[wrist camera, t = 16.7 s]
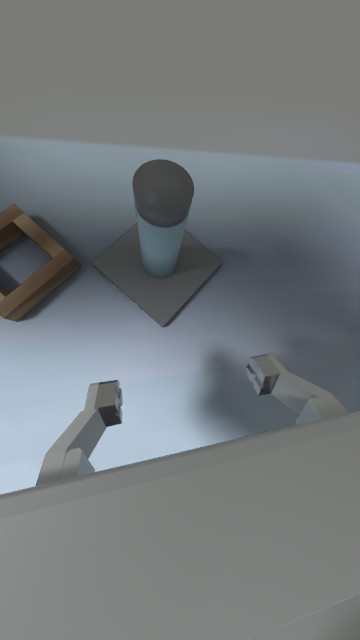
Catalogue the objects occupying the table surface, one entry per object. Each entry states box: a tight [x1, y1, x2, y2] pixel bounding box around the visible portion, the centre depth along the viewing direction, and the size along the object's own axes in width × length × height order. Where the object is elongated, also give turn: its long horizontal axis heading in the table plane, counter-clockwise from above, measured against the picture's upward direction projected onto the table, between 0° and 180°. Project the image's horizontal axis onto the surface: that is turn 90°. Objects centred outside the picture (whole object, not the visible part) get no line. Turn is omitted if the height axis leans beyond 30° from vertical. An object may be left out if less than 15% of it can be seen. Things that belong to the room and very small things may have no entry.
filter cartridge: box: [133, 160, 194, 278], centre depth 18 cm, size 4×4×11 cm
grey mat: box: [92, 223, 222, 327], centre depth 24 cm, size 11×11×1 cm
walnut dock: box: [0, 204, 81, 322], centre depth 22 cm, size 9×9×2 cm
